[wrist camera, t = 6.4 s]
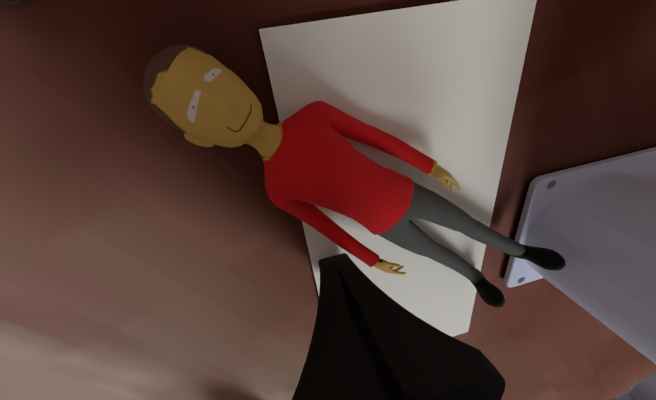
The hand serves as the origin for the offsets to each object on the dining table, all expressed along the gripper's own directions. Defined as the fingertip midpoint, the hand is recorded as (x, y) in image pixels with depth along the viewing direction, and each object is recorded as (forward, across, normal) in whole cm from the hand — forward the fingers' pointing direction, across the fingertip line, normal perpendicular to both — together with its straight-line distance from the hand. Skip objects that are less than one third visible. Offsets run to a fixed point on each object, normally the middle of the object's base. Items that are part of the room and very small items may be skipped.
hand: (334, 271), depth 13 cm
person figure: (+1, -3, -3) cm, 4 cm away
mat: (+1, -4, 0) cm, 4 cm away
